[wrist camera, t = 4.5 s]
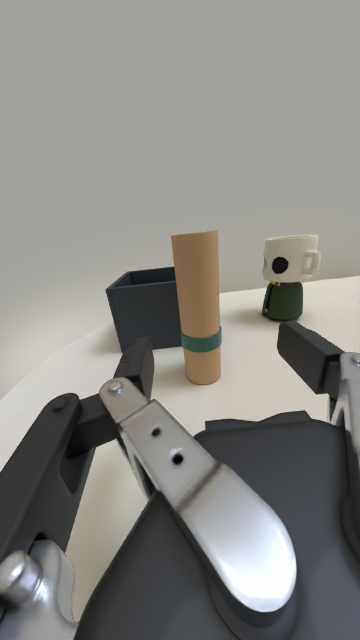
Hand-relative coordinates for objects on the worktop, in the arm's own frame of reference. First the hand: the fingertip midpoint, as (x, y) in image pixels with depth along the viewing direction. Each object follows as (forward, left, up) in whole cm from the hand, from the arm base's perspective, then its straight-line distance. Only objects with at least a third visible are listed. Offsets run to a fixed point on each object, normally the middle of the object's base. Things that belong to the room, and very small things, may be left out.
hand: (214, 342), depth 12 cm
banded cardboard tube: (0, +8, -9) cm, 12 cm away
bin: (-4, +21, -9) cm, 23 cm away
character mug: (+16, +21, -9) cm, 28 cm away
